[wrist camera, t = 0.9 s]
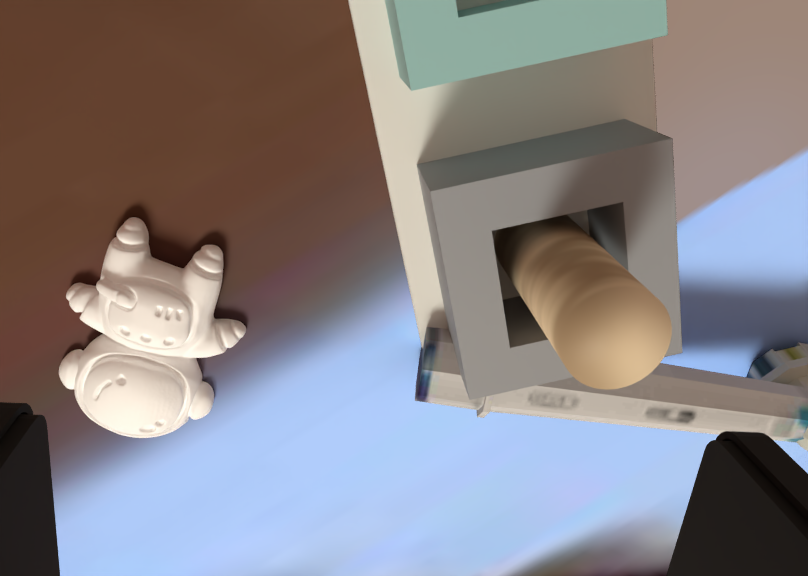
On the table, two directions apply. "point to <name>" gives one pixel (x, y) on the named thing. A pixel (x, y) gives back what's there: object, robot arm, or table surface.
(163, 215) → the table surface
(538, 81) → the dock board
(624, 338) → the beech pin
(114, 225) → the table surface
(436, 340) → the light grey long piece
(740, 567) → the robot arm
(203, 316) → the astronaut figurine
